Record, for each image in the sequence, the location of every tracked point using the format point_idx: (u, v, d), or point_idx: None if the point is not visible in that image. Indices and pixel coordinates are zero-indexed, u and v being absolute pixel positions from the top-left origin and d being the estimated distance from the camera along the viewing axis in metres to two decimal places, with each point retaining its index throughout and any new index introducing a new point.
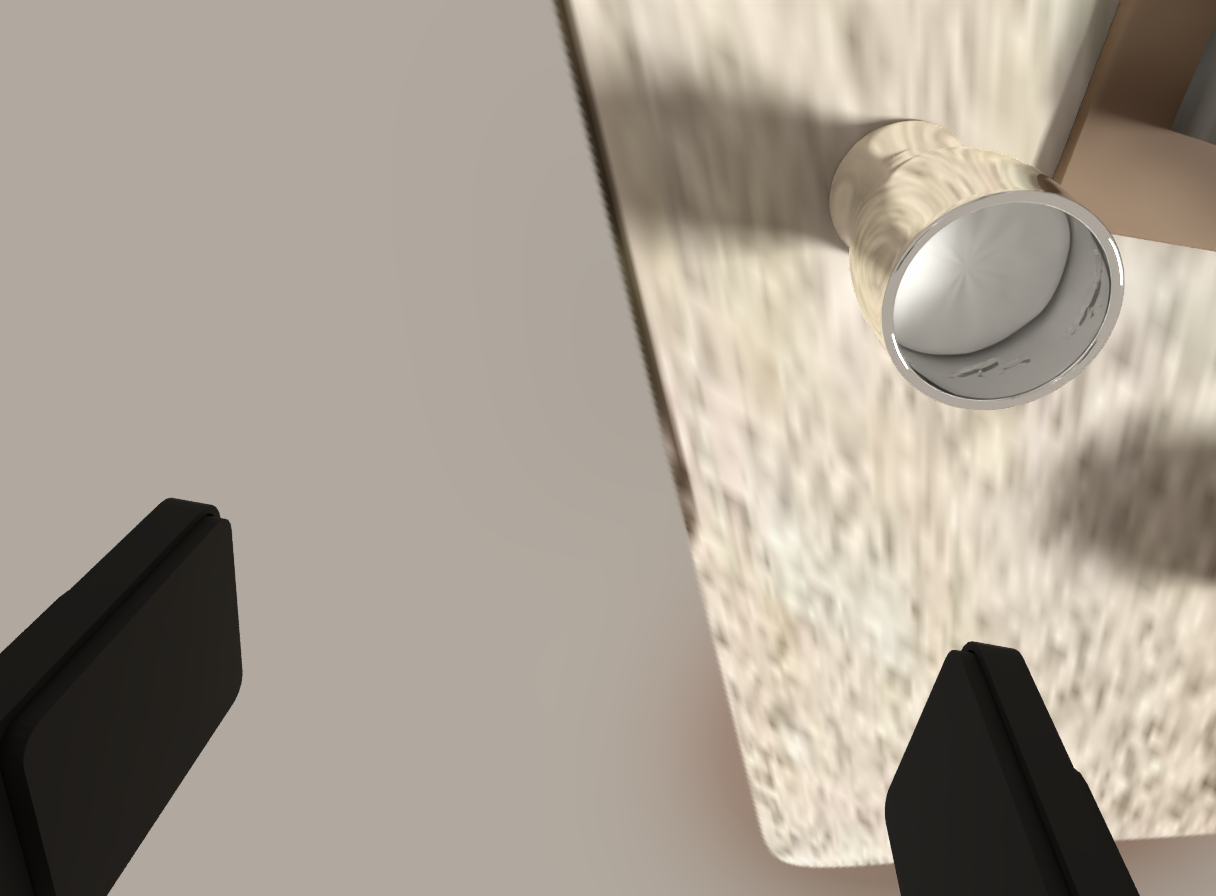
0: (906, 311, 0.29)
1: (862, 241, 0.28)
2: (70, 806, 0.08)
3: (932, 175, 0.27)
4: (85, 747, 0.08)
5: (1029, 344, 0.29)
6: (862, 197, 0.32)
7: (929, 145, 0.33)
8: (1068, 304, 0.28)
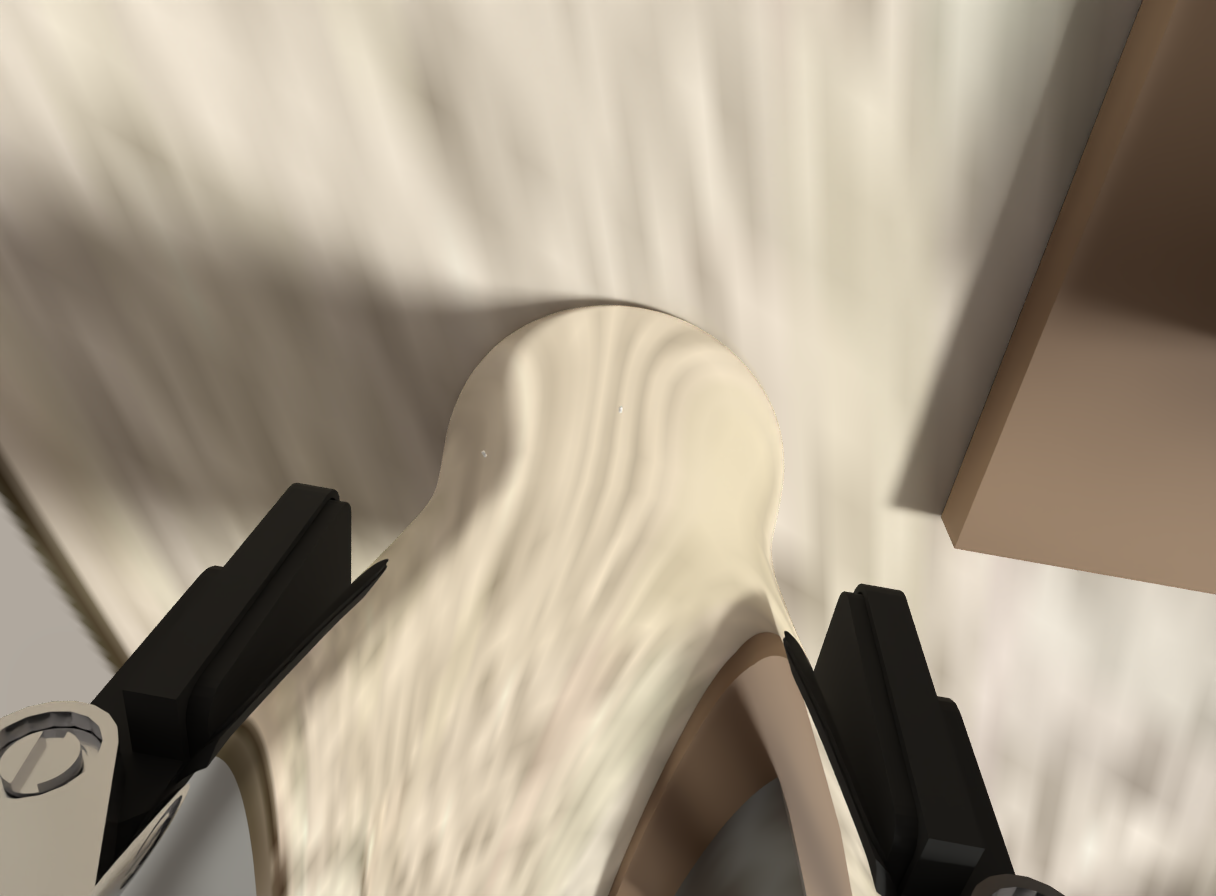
0: None
1: None
2: None
3: None
4: None
5: None
6: None
7: (581, 429, 0.11)
8: None
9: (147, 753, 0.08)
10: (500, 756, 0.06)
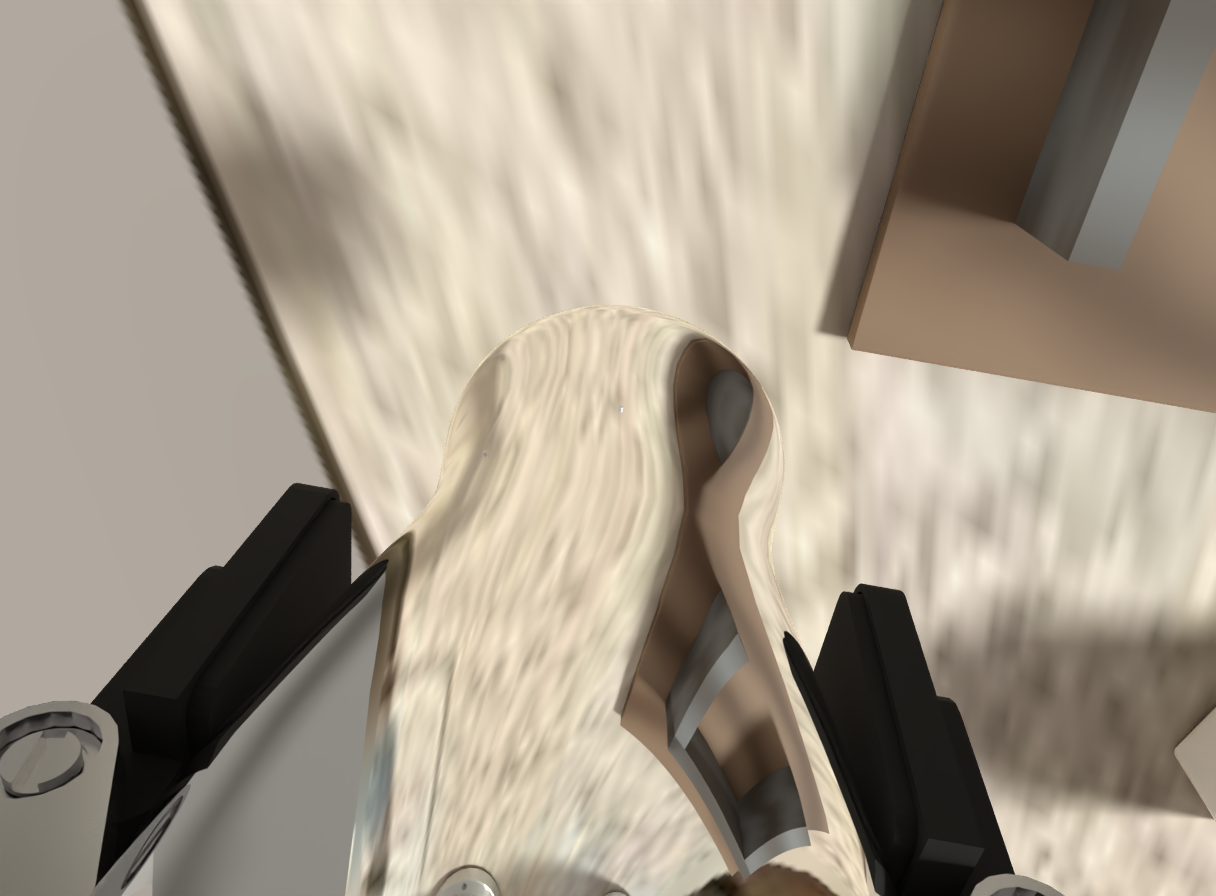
0: None
1: None
2: None
3: None
4: None
5: None
6: None
7: (581, 429, 0.11)
8: None
9: (147, 753, 0.08)
10: (501, 753, 0.06)
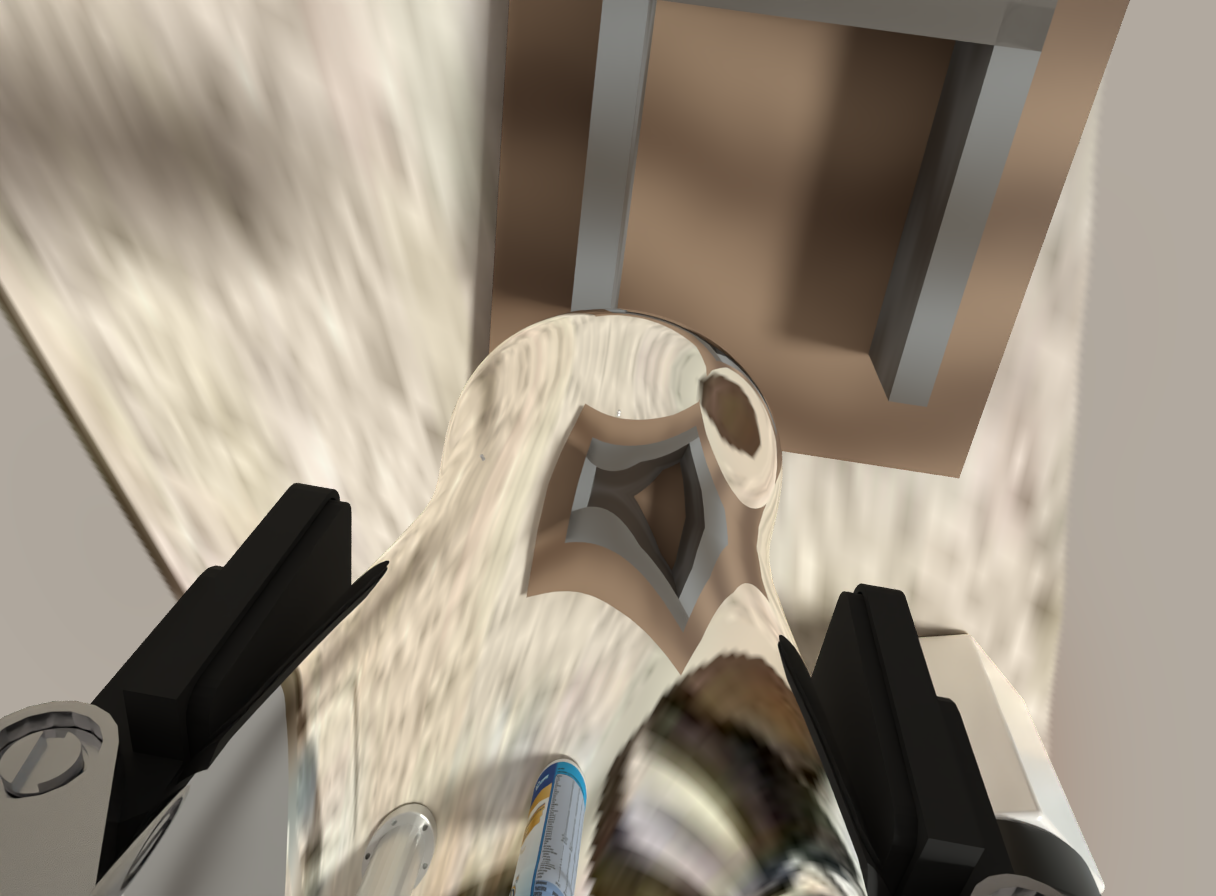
0: None
1: None
2: None
3: None
4: None
5: None
6: None
7: (579, 433, 0.11)
8: None
9: (147, 753, 0.08)
10: (495, 761, 0.06)
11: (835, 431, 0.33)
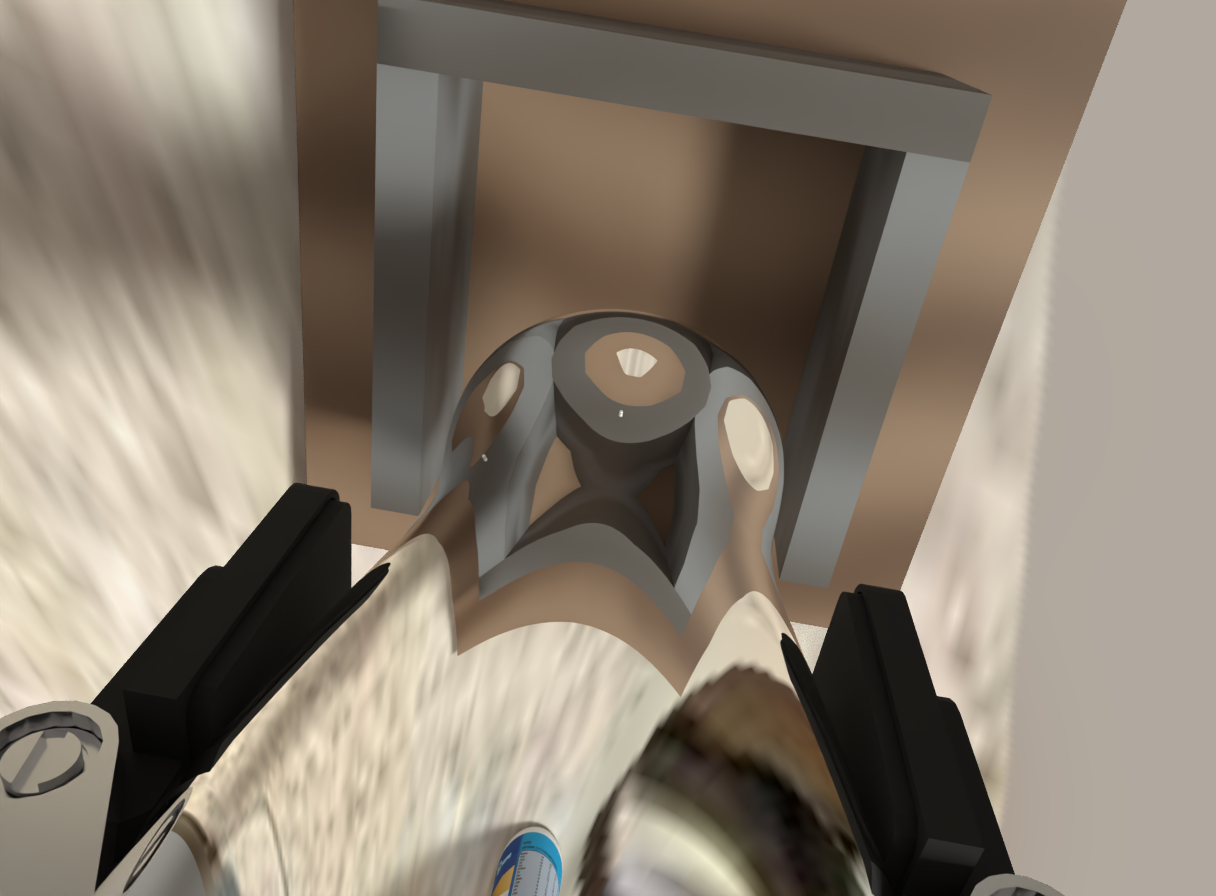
0: None
1: None
2: None
3: None
4: None
5: None
6: None
7: (581, 433, 0.11)
8: None
9: (147, 753, 0.08)
10: (499, 762, 0.06)
11: None
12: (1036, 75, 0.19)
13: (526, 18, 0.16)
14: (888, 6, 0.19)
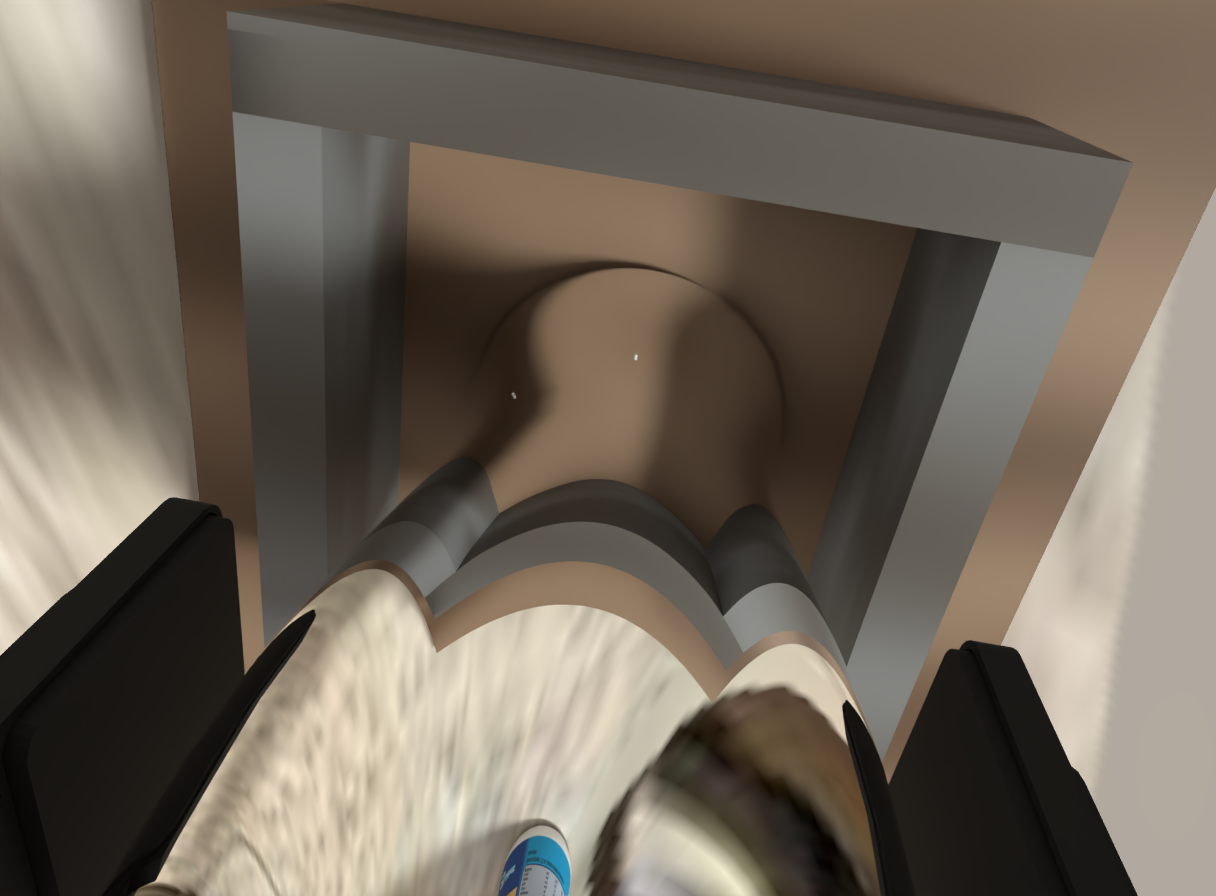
0: None
1: None
2: (73, 805, 0.08)
3: (238, 781, 0.06)
4: (88, 746, 0.08)
5: None
6: None
7: (601, 373, 0.13)
8: None
9: None
10: (549, 598, 0.07)
11: None
12: (1160, 121, 0.14)
13: (444, 48, 0.11)
14: (959, 27, 0.14)
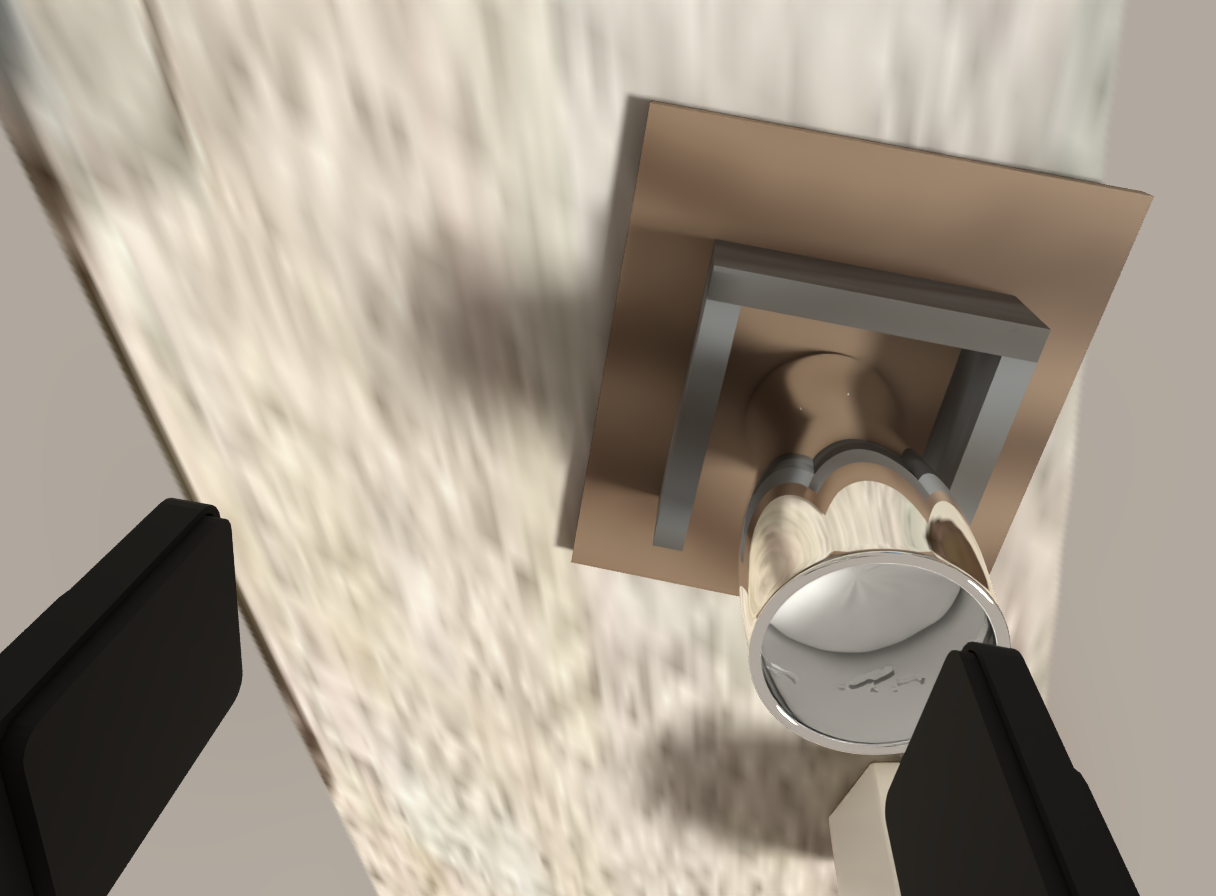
0: (795, 611, 0.27)
1: (743, 544, 0.26)
2: (70, 806, 0.08)
3: (812, 493, 0.24)
4: (85, 747, 0.08)
5: (926, 657, 0.26)
6: (760, 463, 0.30)
7: (838, 400, 0.31)
8: (966, 622, 0.26)
9: None
10: (876, 457, 0.25)
11: None
12: (1072, 299, 0.33)
13: (795, 280, 0.30)
14: (985, 259, 0.32)
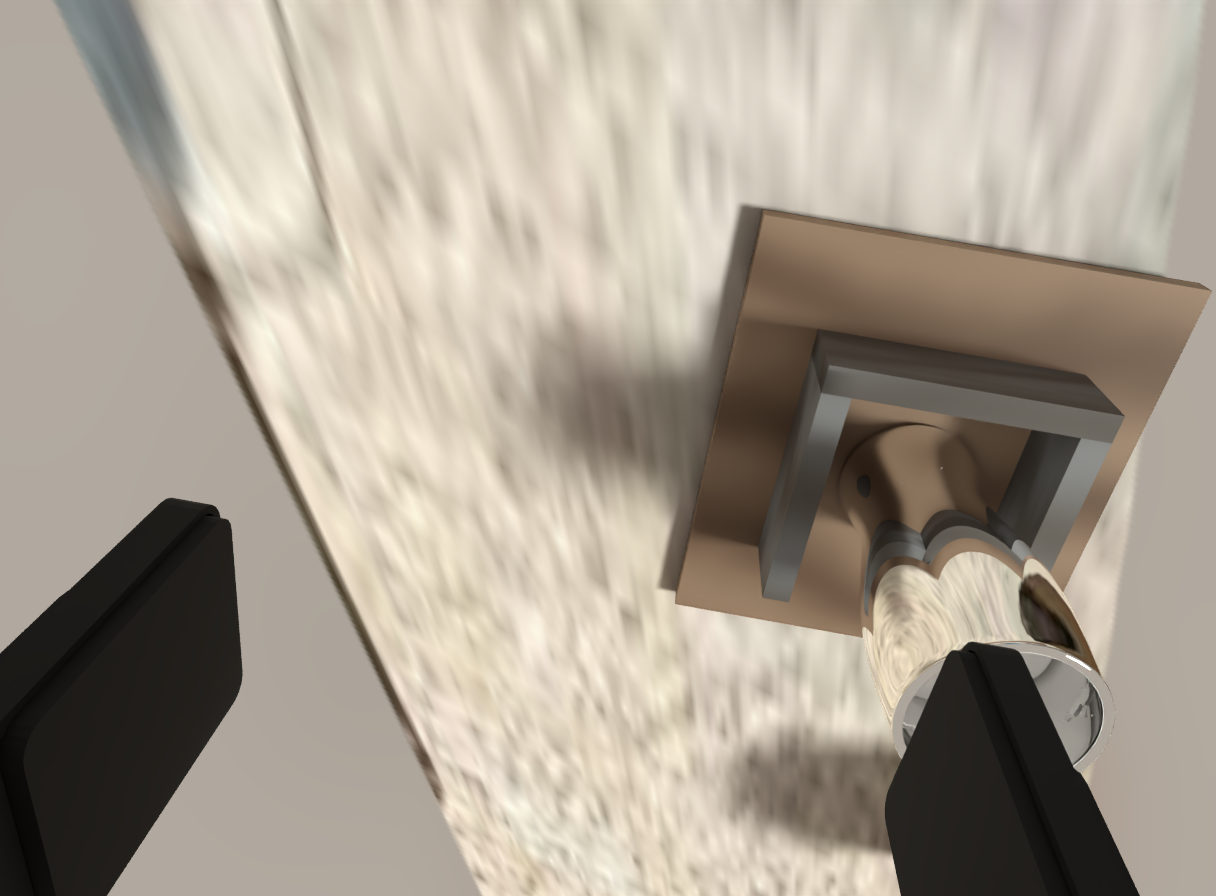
0: None
1: (873, 619, 0.30)
2: (70, 806, 0.08)
3: (938, 581, 0.29)
4: (85, 747, 0.08)
5: None
6: (871, 536, 0.34)
7: (934, 475, 0.36)
8: (1064, 682, 0.30)
9: None
10: (987, 545, 0.30)
11: None
12: (1136, 377, 0.37)
13: (900, 377, 0.34)
14: (1060, 344, 0.37)
